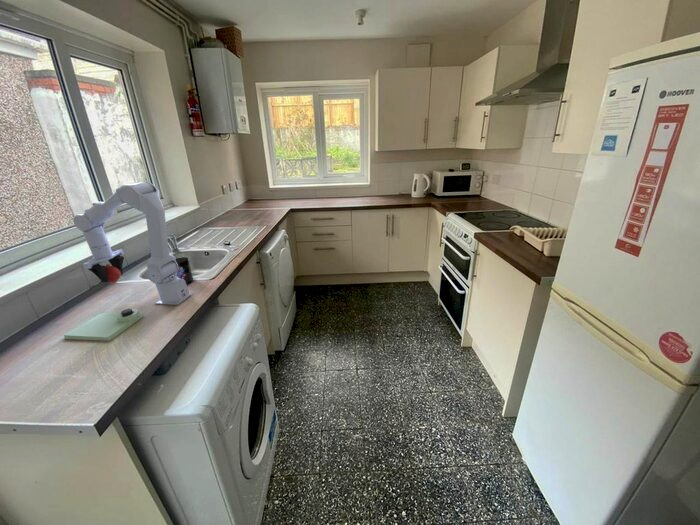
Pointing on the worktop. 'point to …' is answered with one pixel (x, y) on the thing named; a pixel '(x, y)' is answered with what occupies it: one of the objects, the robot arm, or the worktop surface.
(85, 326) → the scale
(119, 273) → the onion
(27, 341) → the worktop surface
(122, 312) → the tare button
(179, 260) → the supplement container
